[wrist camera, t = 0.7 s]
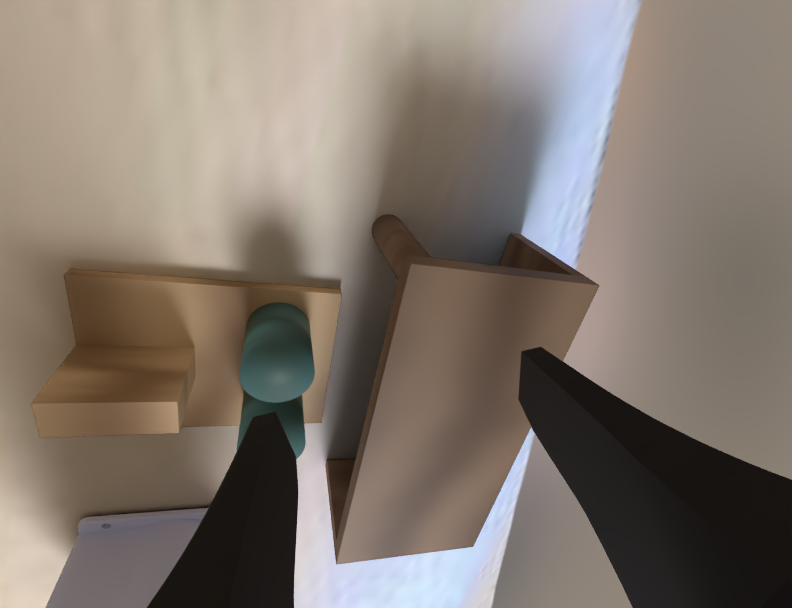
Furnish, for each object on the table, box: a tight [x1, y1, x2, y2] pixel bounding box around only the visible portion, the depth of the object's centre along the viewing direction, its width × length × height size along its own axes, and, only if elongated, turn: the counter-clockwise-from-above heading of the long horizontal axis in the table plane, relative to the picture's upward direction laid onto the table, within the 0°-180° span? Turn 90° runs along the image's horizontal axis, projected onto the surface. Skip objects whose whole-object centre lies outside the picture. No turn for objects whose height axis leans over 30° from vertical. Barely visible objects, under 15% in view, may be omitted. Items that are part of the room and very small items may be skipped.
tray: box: [31, 269, 342, 459], centre depth 20 cm, size 12×9×5 cm
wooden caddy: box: [326, 215, 599, 564], centre depth 22 cm, size 8×18×6 cm, turn 167°
